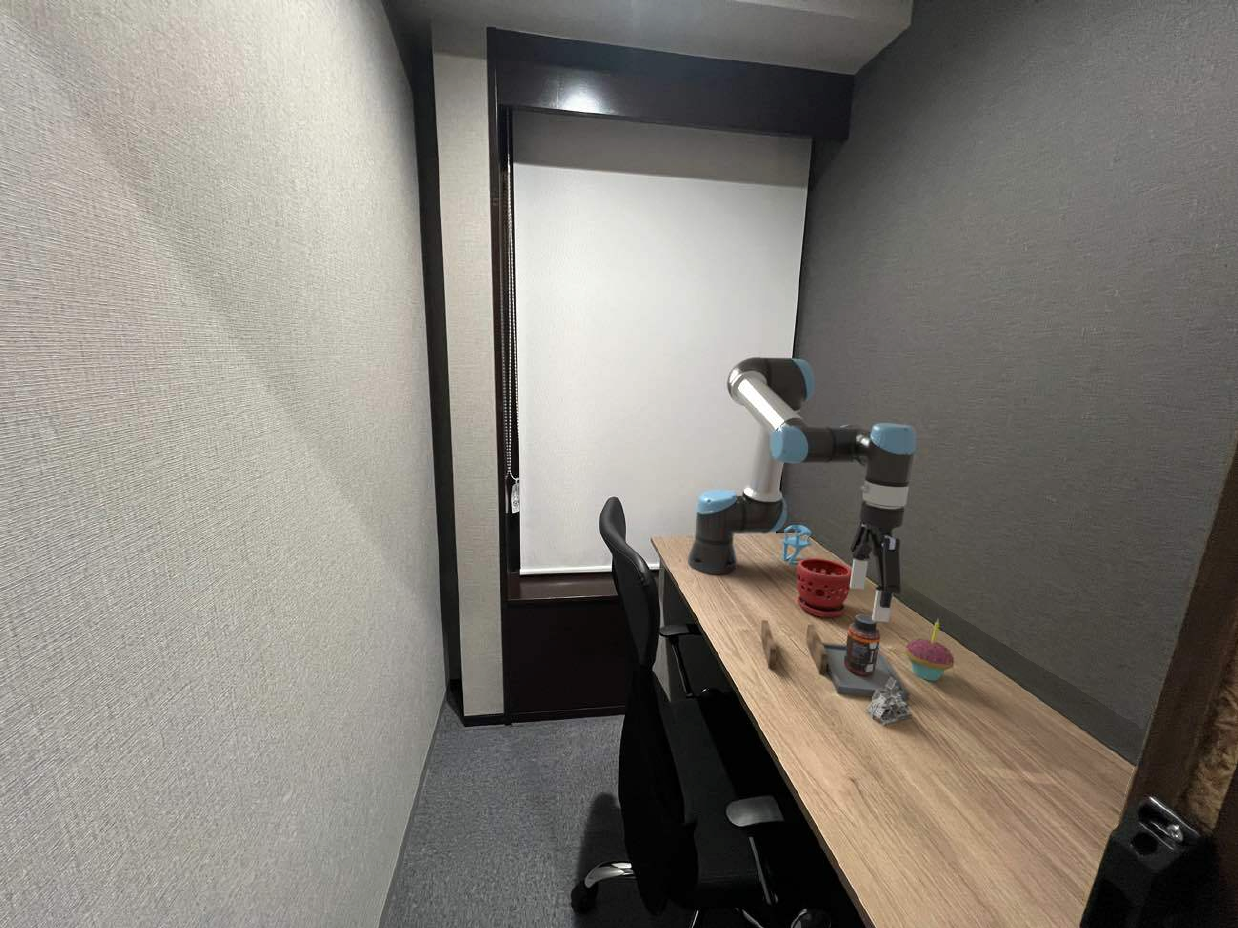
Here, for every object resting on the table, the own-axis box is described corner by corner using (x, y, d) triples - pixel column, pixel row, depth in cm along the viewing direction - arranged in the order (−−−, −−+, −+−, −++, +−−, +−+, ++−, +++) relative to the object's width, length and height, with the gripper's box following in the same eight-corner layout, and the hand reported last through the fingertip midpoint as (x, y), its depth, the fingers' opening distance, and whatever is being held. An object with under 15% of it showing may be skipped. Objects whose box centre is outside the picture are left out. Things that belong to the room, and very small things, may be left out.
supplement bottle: (878, 679, 101) (886, 628, 99) (847, 674, 102) (854, 623, 100) (870, 662, 107) (877, 613, 104) (840, 657, 108) (847, 609, 106)
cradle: (760, 637, 116) (762, 620, 115) (811, 642, 115) (813, 624, 114) (768, 668, 105) (770, 648, 104) (825, 674, 103) (827, 654, 102)
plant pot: (858, 616, 128) (864, 573, 126) (817, 624, 123) (822, 579, 121) (821, 594, 140) (826, 554, 138) (783, 600, 135) (787, 559, 133)
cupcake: (910, 657, 110) (918, 607, 108) (955, 675, 104) (965, 622, 102) (897, 673, 104) (906, 621, 102) (944, 693, 98) (954, 637, 96)
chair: (776, 559, 164) (779, 524, 162) (794, 555, 168) (797, 521, 166) (794, 568, 157) (798, 532, 155) (812, 564, 161) (816, 528, 159)
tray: (817, 647, 113) (817, 641, 113) (877, 653, 111) (878, 647, 111) (837, 693, 97) (838, 686, 97) (908, 700, 96) (909, 693, 95)
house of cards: (880, 688, 100) (885, 654, 98) (919, 717, 92) (925, 680, 90) (844, 697, 97) (849, 661, 95) (881, 728, 89) (887, 689, 87)
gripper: (843, 486, 110) (831, 575, 114) (887, 522, 85) (869, 634, 90) (879, 488, 109) (865, 578, 113) (934, 526, 84) (914, 638, 89)
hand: (867, 603), depth 102 cm, fingers open, 13 cm apart
